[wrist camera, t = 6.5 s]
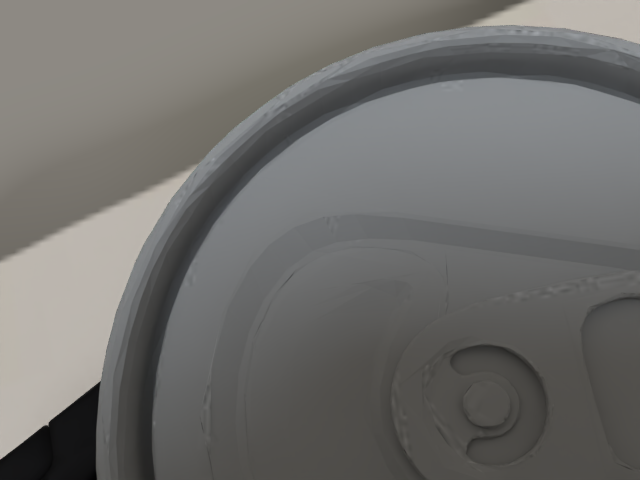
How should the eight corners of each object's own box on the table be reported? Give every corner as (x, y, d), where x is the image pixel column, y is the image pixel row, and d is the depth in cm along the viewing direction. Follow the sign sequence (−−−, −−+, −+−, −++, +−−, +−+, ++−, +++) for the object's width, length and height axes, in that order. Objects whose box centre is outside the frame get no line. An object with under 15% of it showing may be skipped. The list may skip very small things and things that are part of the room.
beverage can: (281, 296, 16) (35, 56, 5) (513, 261, 16) (848, -98, 4) (310, 549, 15) (27, 1124, 3) (573, 517, 14) (1414, 1054, 3)
